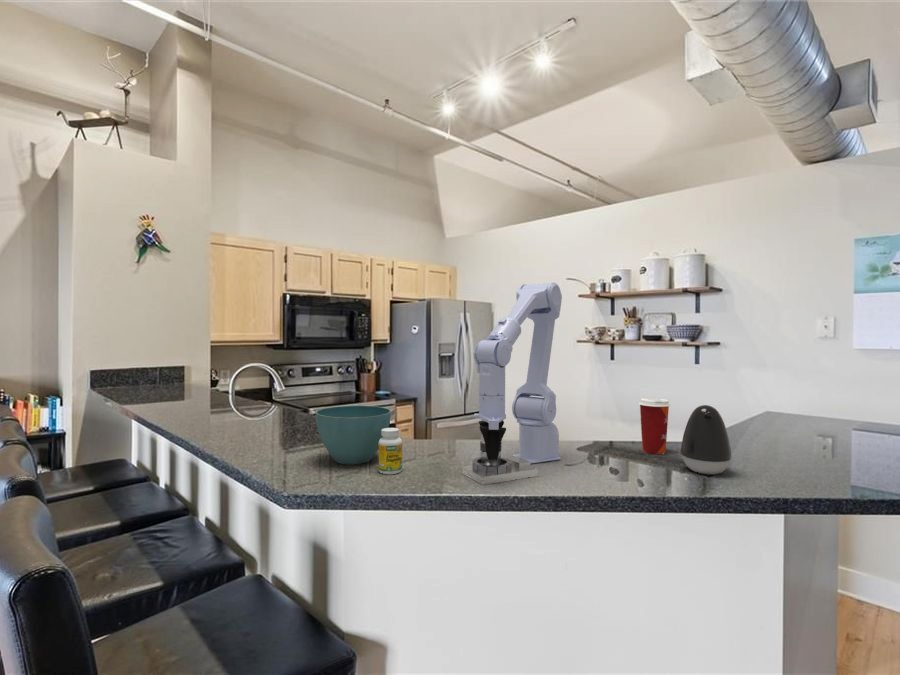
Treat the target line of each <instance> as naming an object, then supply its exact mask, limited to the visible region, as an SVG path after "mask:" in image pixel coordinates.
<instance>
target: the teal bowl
mask: <svg viewBox="0 0 900 675" xmlns="http://www.w3.org/2000/svg"><path fill="white" fill-rule="evenodd" d="M391 416H392V409H390V408H387V407H383V406H377V405H374V406H373V405H339V406H331V407H330V406H329V407H324V408H320V409H317V410H315V421H316V427H317V431H318V434H319V437H320V440H321V443H322V444H323V446H324V448H325V450H326V451H327V452H328V453H329V455H330V456H331V458H332V459H333V460H334V461H335V462H337V463H338V464H342V465H360V464H361V465H362V464H366V463H368V462H370V461H371V460H372V459H373V458H374V456H375V455H376V454H377V452H379V440H380V439H381V438H383V436H382V435H381V430H382V429H384V428H390V427H389V426H390V423H391ZM365 462H366V463H365Z"/></svg>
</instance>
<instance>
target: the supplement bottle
mask: <svg viewBox="0 0 900 675" xmlns="http://www.w3.org/2000/svg"><path fill="white" fill-rule="evenodd" d="M381 435H382V436H383V438H381V439H380V440H379V450H378V472H379V473H380V474H382V473H383V474H382V475H396V474H399V473H401V472H402V471H403V440H402V439H401V437H399V435H400V429H399V428H397V427H389V428H384V429H382V430H381Z"/></svg>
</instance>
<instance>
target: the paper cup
mask: <svg viewBox="0 0 900 675" xmlns="http://www.w3.org/2000/svg"><path fill="white" fill-rule="evenodd" d="M638 405H639V412H640V430H641V431H640V432H641V448H642V452H643V453H644V452H645V454H649V455H654V454H662V455H664V454H663V453H665V454H666V450H667V440H668V439H667V438H668V425H669V424H668V423H669V421H668V420H669V412H670V410H669V408H670V406H671V405H670V403H669V399H665V398H658V397H657V398H656V397H642V398H640V400H639V402H638Z"/></svg>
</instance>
